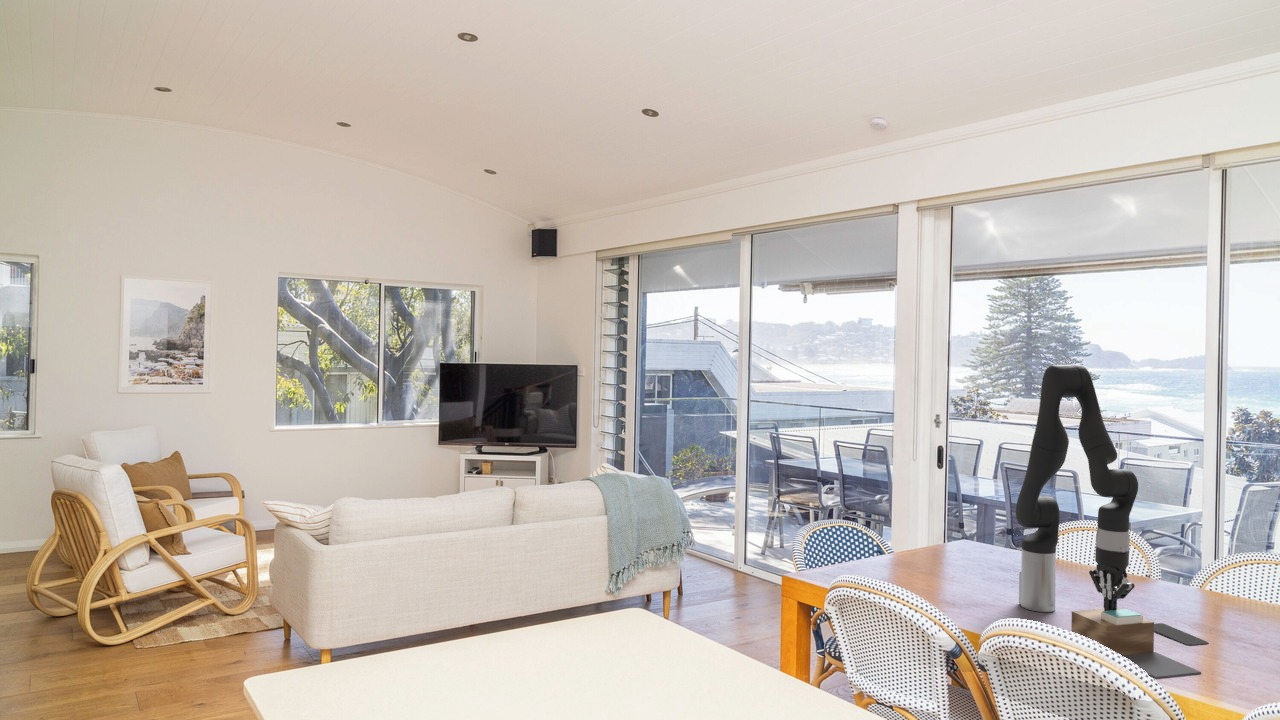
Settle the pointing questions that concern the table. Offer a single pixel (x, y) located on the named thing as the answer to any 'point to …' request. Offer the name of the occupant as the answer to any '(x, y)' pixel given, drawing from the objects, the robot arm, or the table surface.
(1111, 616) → the card box
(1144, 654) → the rubber mat
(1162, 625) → the smartphone
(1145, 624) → the brown wooden block
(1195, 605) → the table surface
